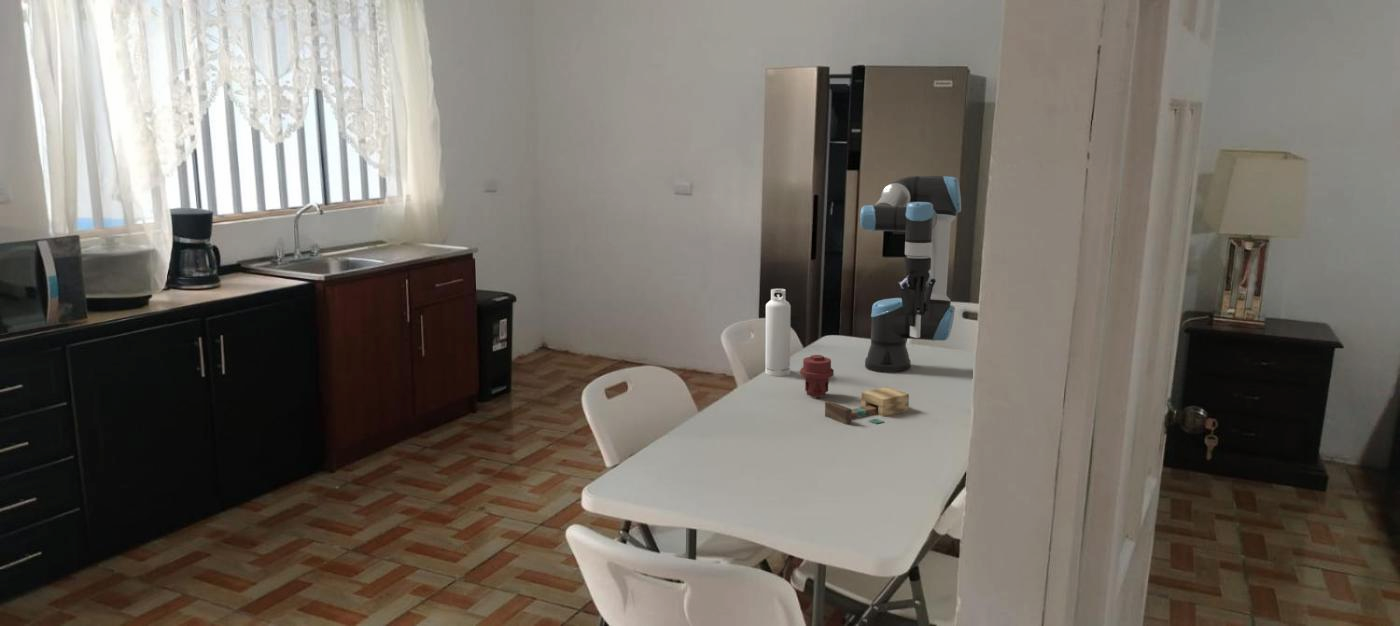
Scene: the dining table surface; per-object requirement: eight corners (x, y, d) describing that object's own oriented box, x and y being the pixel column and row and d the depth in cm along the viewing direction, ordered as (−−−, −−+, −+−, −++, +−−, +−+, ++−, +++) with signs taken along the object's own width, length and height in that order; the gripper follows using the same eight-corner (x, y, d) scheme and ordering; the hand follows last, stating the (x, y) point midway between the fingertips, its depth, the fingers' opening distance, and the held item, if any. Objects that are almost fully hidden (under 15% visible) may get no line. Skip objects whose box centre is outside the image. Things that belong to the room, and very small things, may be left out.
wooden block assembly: (879, 398, 292) (879, 385, 291) (922, 413, 277) (922, 400, 276) (815, 412, 279) (815, 398, 279) (856, 428, 264) (856, 414, 264)
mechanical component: (831, 390, 301) (834, 400, 291) (798, 391, 301) (801, 400, 291) (831, 352, 298) (835, 360, 288) (799, 352, 298) (801, 360, 289)
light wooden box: (886, 403, 288) (887, 386, 287) (908, 410, 280) (908, 394, 279) (861, 408, 283) (861, 392, 282) (882, 416, 275) (882, 399, 274)
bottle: (789, 369, 326) (790, 287, 320) (789, 376, 318) (790, 292, 312) (765, 369, 327) (766, 287, 321) (764, 375, 319) (765, 291, 313)
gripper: (924, 253, 285) (921, 331, 289) (891, 256, 278) (889, 337, 283) (943, 256, 279) (940, 336, 283) (910, 259, 272) (907, 341, 276)
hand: (914, 336), depth 283 cm, fingers closed
